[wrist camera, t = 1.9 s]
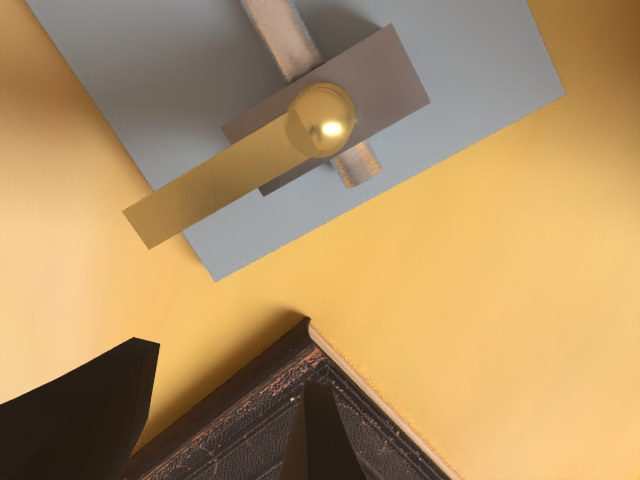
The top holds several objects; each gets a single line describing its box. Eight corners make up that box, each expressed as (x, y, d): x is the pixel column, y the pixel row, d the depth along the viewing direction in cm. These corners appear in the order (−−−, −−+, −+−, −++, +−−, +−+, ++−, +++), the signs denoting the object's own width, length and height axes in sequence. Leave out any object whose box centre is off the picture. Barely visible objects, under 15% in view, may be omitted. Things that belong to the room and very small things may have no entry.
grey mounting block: (419, 97, 17) (431, 102, 14) (276, 178, 18) (263, 197, 16) (385, 30, 17) (391, 22, 14) (240, 118, 18) (220, 127, 15)
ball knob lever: (366, 127, 15) (369, 138, 12) (184, 230, 16) (155, 259, 14) (335, 69, 14) (332, 70, 12) (151, 181, 16) (115, 201, 13)
